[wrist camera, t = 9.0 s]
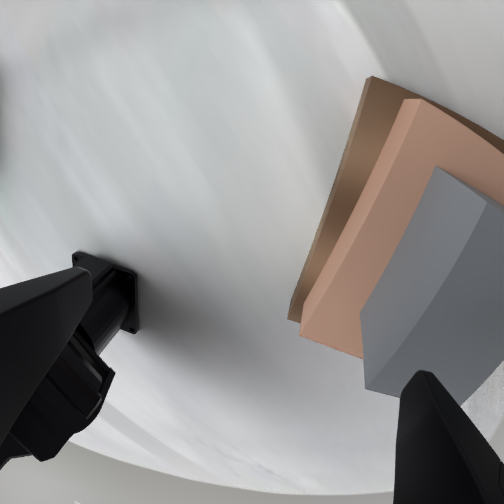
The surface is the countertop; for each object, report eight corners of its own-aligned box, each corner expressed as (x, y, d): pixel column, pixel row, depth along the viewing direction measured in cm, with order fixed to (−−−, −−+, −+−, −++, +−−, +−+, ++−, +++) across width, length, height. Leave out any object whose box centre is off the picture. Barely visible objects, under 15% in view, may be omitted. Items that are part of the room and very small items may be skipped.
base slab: (423, 333, 22) (431, 359, 19) (292, 293, 23) (287, 319, 20) (512, 153, 15) (536, 162, 12) (364, 79, 16) (372, 75, 13)
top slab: (419, 349, 19) (427, 380, 17) (303, 303, 19) (299, 335, 17) (527, 182, 13) (554, 199, 10) (404, 99, 13) (421, 98, 11)
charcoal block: (435, 339, 15) (455, 409, 11) (359, 312, 15) (365, 389, 11) (513, 212, 11) (570, 261, 7) (435, 165, 12) (487, 201, 7)
